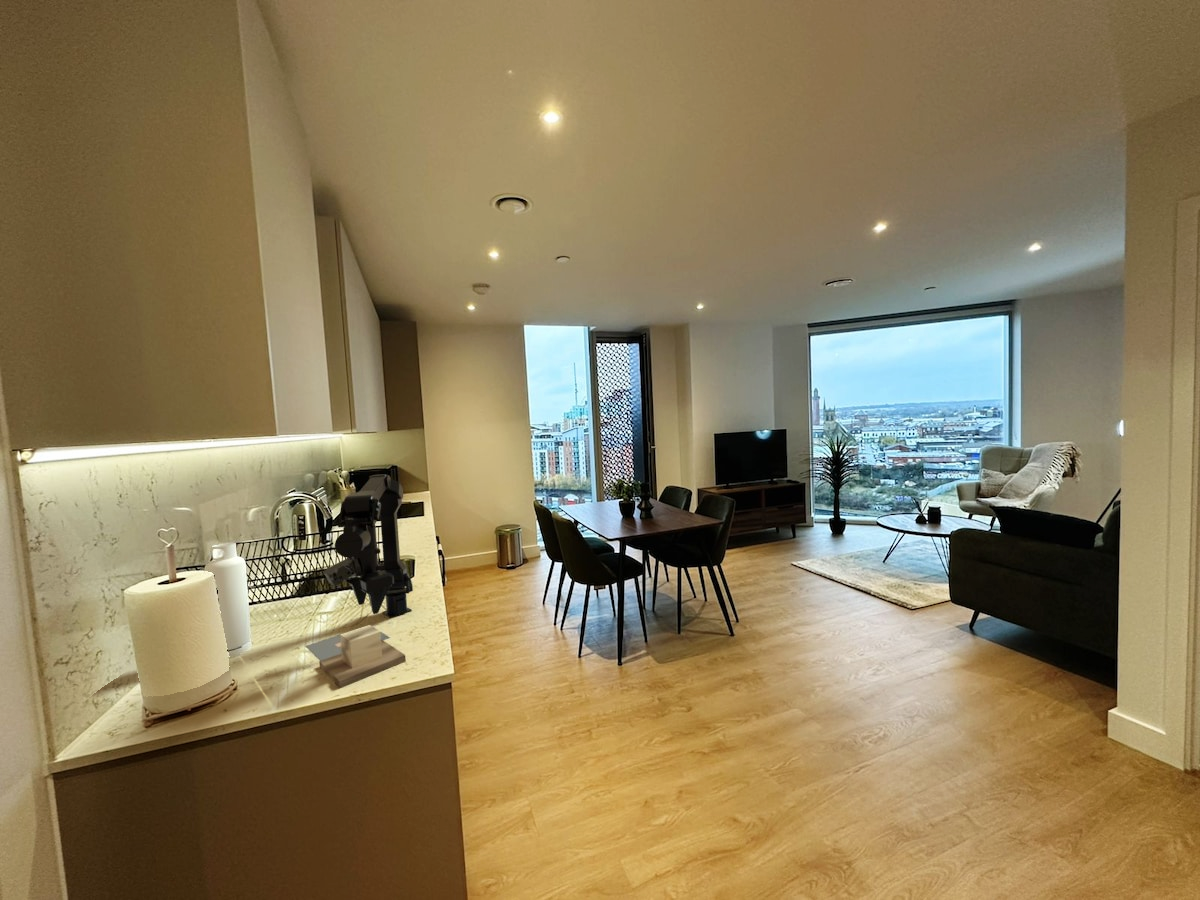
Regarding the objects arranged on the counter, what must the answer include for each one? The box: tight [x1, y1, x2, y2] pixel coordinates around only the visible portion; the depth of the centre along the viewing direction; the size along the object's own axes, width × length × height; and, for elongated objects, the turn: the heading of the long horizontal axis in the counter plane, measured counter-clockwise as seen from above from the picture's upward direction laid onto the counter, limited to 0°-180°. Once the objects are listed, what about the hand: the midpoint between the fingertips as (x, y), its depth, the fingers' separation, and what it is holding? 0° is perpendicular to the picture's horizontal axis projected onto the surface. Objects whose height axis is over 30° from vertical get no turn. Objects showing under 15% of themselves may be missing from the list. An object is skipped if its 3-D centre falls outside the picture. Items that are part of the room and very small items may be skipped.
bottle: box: [204, 542, 253, 659], centre depth 113 cm, size 8×8×28 cm
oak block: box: [339, 624, 382, 668], centre depth 104 cm, size 6×6×6 cm
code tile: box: [304, 625, 391, 661], centre depth 116 cm, size 14×16×1 cm
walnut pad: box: [318, 639, 407, 689], centre depth 104 cm, size 14×14×2 cm
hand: (368, 608), depth 108 cm, fingers open, 9 cm apart
